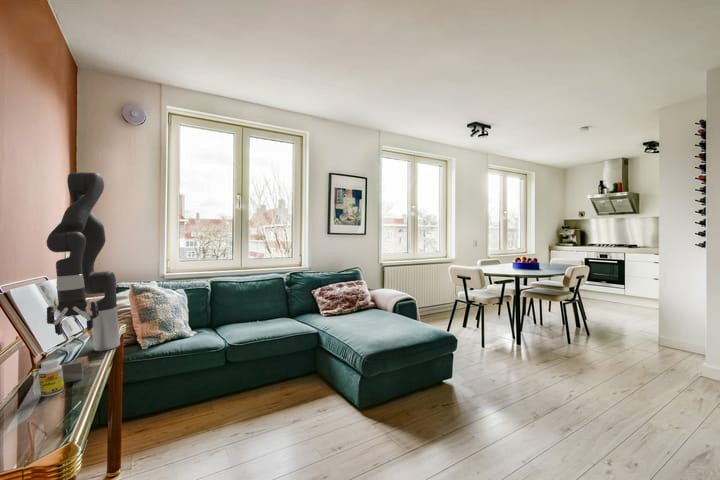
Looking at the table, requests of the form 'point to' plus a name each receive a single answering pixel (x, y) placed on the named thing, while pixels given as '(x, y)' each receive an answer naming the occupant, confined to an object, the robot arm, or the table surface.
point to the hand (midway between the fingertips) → (74, 332)
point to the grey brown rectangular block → (75, 369)
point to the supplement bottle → (51, 378)
